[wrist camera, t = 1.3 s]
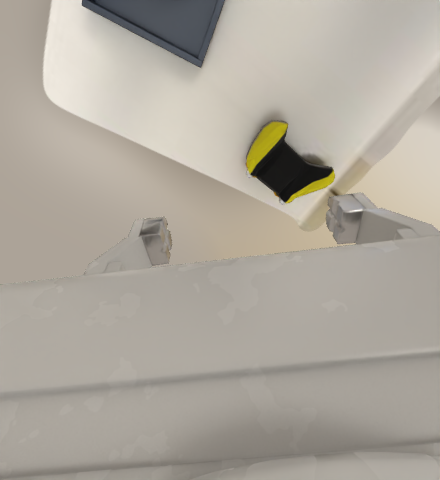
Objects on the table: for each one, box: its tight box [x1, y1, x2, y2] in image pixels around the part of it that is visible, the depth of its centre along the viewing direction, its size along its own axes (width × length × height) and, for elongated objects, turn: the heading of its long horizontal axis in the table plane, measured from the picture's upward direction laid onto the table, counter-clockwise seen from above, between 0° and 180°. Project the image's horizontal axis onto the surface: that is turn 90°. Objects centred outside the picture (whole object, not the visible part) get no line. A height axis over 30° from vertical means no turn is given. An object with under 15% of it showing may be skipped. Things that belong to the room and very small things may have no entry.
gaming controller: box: [246, 121, 335, 205], centre depth 46 cm, size 15×6×10 cm
